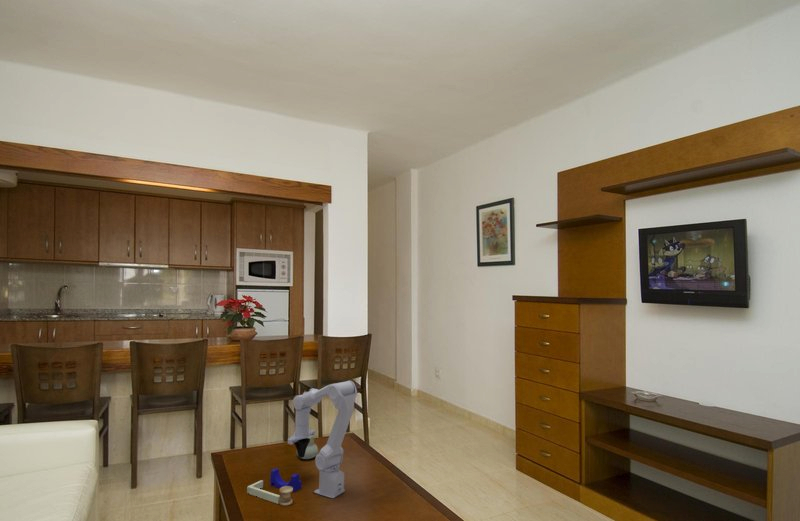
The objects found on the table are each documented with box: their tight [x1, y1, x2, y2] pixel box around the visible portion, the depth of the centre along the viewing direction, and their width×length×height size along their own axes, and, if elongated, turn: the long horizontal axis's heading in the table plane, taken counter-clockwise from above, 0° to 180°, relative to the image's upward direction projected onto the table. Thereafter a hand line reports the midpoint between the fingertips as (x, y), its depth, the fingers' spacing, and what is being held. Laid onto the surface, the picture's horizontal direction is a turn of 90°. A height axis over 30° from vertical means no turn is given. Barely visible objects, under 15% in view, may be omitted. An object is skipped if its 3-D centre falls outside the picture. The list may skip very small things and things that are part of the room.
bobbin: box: [278, 486, 293, 507], centre depth 171 cm, size 5×5×5 cm
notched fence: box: [246, 479, 282, 505], centre depth 176 cm, size 16×7×2 cm, turn 60°
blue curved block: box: [269, 467, 302, 493], centre depth 184 cm, size 12×4×6 cm, turn 63°
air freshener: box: [295, 435, 319, 460], centre depth 216 cm, size 11×8×10 cm
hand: (301, 456), depth 192 cm, fingers closed
